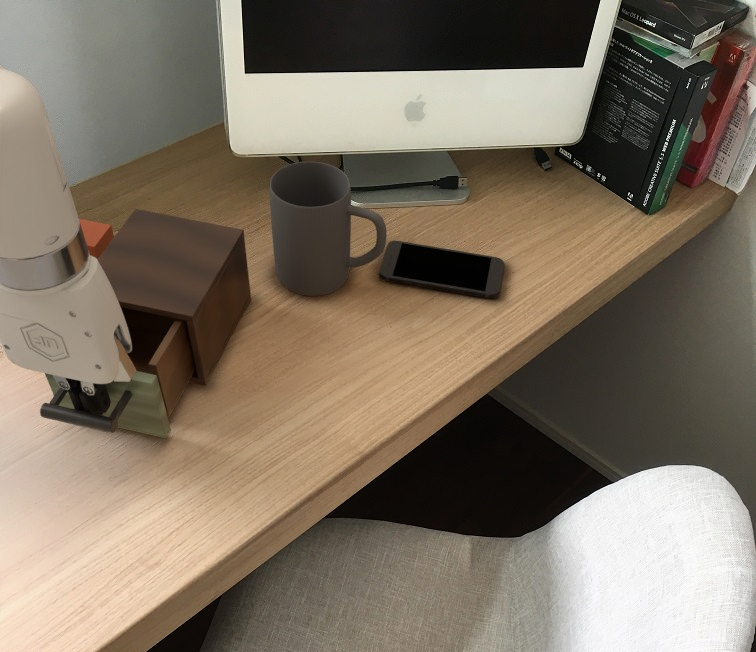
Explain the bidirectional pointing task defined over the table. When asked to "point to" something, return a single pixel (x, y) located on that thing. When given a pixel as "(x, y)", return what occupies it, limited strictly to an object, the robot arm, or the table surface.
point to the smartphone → (442, 269)
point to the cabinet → (182, 278)
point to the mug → (316, 228)
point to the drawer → (138, 380)
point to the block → (96, 236)
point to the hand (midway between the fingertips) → (95, 411)
